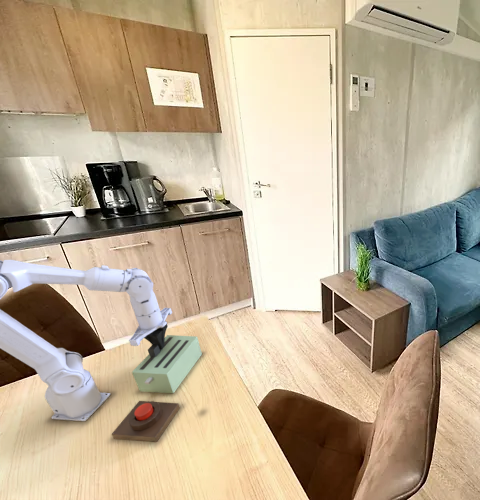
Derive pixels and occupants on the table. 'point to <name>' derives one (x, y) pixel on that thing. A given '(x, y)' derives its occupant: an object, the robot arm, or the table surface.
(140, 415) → the button
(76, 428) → the table surface
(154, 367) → the toaster
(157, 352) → the browning slider
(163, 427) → the button base
